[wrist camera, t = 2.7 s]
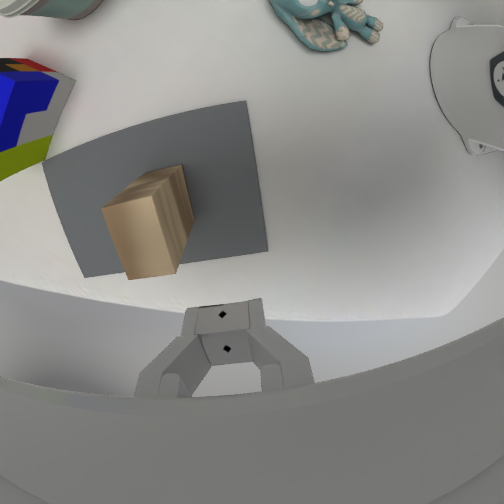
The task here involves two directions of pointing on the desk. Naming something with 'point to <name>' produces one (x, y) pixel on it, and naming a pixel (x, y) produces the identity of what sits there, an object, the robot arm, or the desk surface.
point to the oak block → (151, 222)
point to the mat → (157, 157)
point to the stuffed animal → (320, 32)
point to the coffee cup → (49, 8)
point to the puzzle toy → (28, 112)
